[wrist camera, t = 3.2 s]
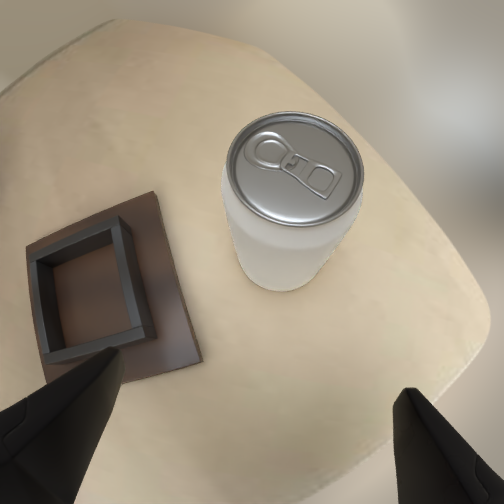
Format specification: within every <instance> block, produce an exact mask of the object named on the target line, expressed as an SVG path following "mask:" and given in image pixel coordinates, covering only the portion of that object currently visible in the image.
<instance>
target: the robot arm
mask: <svg viewBox="0 0 504 504" xmlns="http://www.w3.org/2000/svg"><path fill="white" fill-rule="evenodd" d="M124 374H125V363H124V358H123V354H122V351H121V349H119V348H115V347H112V346H109V347H107V348H105V349H103V350H102V351H100V352H99V353H97V354H95V355H94V356H92V357H90V358H89V359H87V360H86V361H84V362H82V363H81V364H79V365H78V366H76V367H74V368H73V369H71V370H69V371H68V372H66V373H65V374H63V375H61V376H60V377H58V378H56V379H55V380H53V381H52V382H50V383H48V384H47V385H45V386H44V387H42V388H40V389H39V390H37V391H35V392H34V393H32V394H30V395H29V396H28V397H25V398H24V399H22V400H21V401H19V402H17V403H16V404H14V405H12V406H10V407H9V408H7V409H5V410H3V411H1V412H0V504H74V501H75V498H76V496H77V493H78V491H79V488H80V486H81V483H82V481H83V478H84V476H85V473H86V471H87V468H88V466H89V464H90V461H91V459H92V457H93V454H94V452H95V449H96V447H97V445H98V443H99V440H100V438H101V436H102V433H103V431H104V429H105V427H106V424H107V422H108V420H109V418H110V415H111V413H112V410H113V408H114V405H115V401H116V398H117V395H118V392H119V389H120V386H121V383H122V380H123V377H124ZM393 443H394V456H395V465H396V476H397V488H398V502H399V504H504V480H503V479H502V478H501V477H500V476H498V475H497V474H496V473H495V472H494V471H493V470H492V469H491V468H490V467H489V466H488V465H487V464H486V462H485V461H484V460H483V459H482V458H481V457H480V456H479V455H478V454H477V453H476V452H475V451H474V449H473V448H472V447H471V446H470V445H469V444H468V443H467V442H466V441H465V440H464V439H463V437H462V436H461V435H460V434H459V433H458V432H457V431H456V430H455V429H454V428H453V427H452V426H451V424H450V423H449V422H448V421H447V420H446V419H445V418H444V417H443V416H442V415H441V414H440V413H439V412H438V411H437V409H436V408H435V407H434V406H433V405H432V404H431V403H430V402H429V401H428V400H427V399H426V398H425V397H424V396H423V394H422V393H421V392H420V391H419V390H418V389H417V388H413V387H412V388H404V389H403V390H402V392H401V393H400V395H399V396H398V398H397V399H396V401H395V402H394V405H393Z"/></svg>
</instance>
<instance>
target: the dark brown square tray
mask: <svg viewBox="0 0 504 504" xmlns="http://www.w3.org/2000/svg"><path fill="white" fill-rule="evenodd" d="M26 260H27V274H28V284H29V294H30V302H31V309H32V316H33V322H34V328H35V334H36V339H37V344H38V349H39V354H40V358H41V363H42V367H43V371H44V375H45V379H46V383H47V384H48V383H50V382H52V381H53V380H55V379H56V378H58V377H60V376H61V375H63V374H65V373H66V372H68V371H69V370H71V369H73V368H74V367H76V366H78V365H79V364H81V363H82V362H84V361H86V360H87V359H89V358H90V357H92V356H94V355H95V354H97V353H99V352H100V351H102V350H103V349H105V348H107V347H109V346H112V347H115V348H119V349H121V351H122V354H123V358H124V363H125V374H124V377H123V380H122V383H127V382H131V381H135V380H139V379H143V378H147V377H151V376H155V375H158V374H162V373H166V372H170V371H173V370H177V369H180V368H184V367H187V366H191V365H194V364H198V363H201V362H203V358H202V355H201V352H200V349H199V346H198V343H197V340H196V337H195V334H194V331H193V328H192V325H191V321H190V318H189V315H188V312H187V308H186V305H185V302H184V298H183V295H182V292H181V288H180V285H179V281H178V278H177V274H176V271H175V267H174V263H173V260H172V256H171V252H170V248H169V245H168V241H167V237H166V233H165V229H164V225H163V221H162V217H161V213H160V208H159V204H158V200H157V196H156V194H155V193H154V191H151V192H148V193H146V194H143V195H141V196H138V197H136V198H133V199H130V200H128V201H125V202H123V203H121V204H118V205H116V206H113V207H111V208H108V209H106V210H104V211H101V212H99V213H97V214H94V215H92V216H90V217H87V218H85V219H83V220H81V221H78V222H76V223H74V224H72V225H70V226H67V227H65V228H63V229H61V230H59V231H57V232H54V233H52V234H50V235H48V236H46V237H44V238H42V239H40V240H38V241H36V242H34V243H32V244H30V245H28V246H26ZM122 383H121V384H122Z"/></svg>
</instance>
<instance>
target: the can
mask: <svg viewBox="0 0 504 504" xmlns="http://www.w3.org/2000/svg"><path fill="white" fill-rule="evenodd" d="M363 182H364V167H363V162H362V159H361V156H360V153H359V151H358V149H357V147H356V146H355V144H354V143H353V141H352V140H351V139H350V138H349V136H348V135H347V134H346V133H345V132H344V131H342V130H341V129H340V128H339V127H337V126H336V125H334V124H333V123H331V122H329V121H328V120H326V119H323V118H321V117H319V116H316V115H312V114H308V113H303V112H294V111H286V112H277V113H272V114H268V115H265V116H262V117H260V118H258V119H256V120H254V121H252V122H251V123H249V124H248V125H247V126H245V127H244V128H243V129H242V130H241V131H240V132H239V133H238V134H237V136H236V137H235V138H234V140H233V142H232V143H231V146H230V148H229V151H228V154H227V161H226V163H225V166H224V169H223V172H222V179H221V192H222V198H223V204H224V208H225V212H226V216H227V220H228V224H229V227H230V231H231V235H232V239H233V242H234V246H235V250H236V253H237V257H238V260H239V263H240V265H241V267H242V269H243V271H244V272H245V274H246V275H247V276H248V277H249V278H250V279H251V280H252V281H253V282H254V283H256V284H257V285H259V286H261V287H263V288H265V289H268V290H272V291H290V290H294V289H297V288H299V287H301V286H303V285H305V284H306V283H308V282H309V281H310V280H311V279H312V278H313V277H314V276H315V275H316V274H317V272H318V271H319V270H320V269H321V267H322V266H323V265H324V263H325V262H326V261H327V259H328V258H329V257H330V255H331V254H332V253H333V251H334V250H335V249H336V247H337V246H338V245H339V243H340V242H341V240H342V239H343V238H344V236H345V235H346V233H347V232H348V230H349V229H350V227H351V226H352V224H353V223H354V221H355V219H356V217H357V215H358V212H359V210H360V207H361V203H362V195H363V188H362V186H363Z"/></svg>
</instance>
